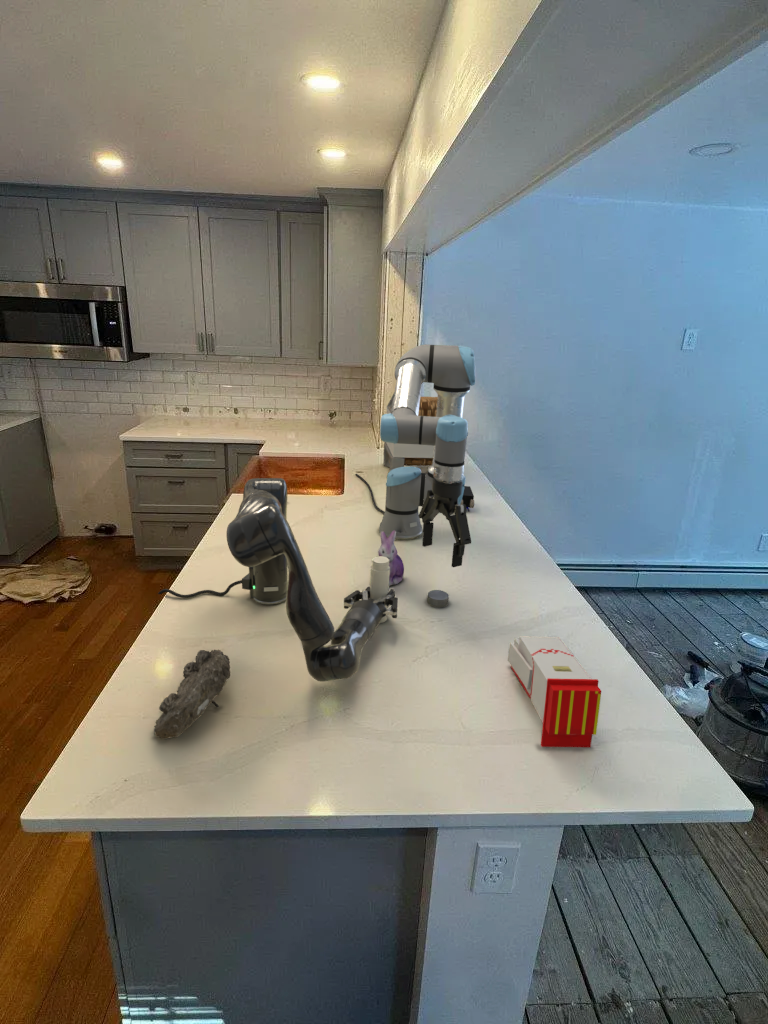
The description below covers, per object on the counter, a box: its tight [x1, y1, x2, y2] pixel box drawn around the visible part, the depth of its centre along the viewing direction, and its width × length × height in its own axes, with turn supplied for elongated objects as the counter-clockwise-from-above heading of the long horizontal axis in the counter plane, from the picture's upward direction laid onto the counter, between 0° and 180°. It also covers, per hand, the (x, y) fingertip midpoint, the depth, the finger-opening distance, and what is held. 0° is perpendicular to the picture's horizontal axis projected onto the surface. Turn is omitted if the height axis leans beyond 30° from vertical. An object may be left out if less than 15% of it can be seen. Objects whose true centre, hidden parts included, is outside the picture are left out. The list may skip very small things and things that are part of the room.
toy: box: [507, 635, 602, 748], centre depth 115 cm, size 12×13×30 cm
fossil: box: [153, 649, 231, 740], centre depth 109 cm, size 22×10×15 cm
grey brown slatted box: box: [383, 393, 438, 472], centre depth 268 cm, size 34×33×41 cm
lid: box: [426, 589, 450, 608], centre depth 154 cm, size 6×6×2 cm
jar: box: [369, 555, 390, 624], centre depth 142 cm, size 5×5×16 cm
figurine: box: [377, 530, 405, 587], centre depth 163 cm, size 9×10×15 cm
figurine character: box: [460, 485, 475, 513], centre depth 228 cm, size 7×8×15 cm
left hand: (382, 590), depth 145 cm, fingers closed on jar, 4 cm apart
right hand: (441, 555), depth 150 cm, fingers open, 13 cm apart
